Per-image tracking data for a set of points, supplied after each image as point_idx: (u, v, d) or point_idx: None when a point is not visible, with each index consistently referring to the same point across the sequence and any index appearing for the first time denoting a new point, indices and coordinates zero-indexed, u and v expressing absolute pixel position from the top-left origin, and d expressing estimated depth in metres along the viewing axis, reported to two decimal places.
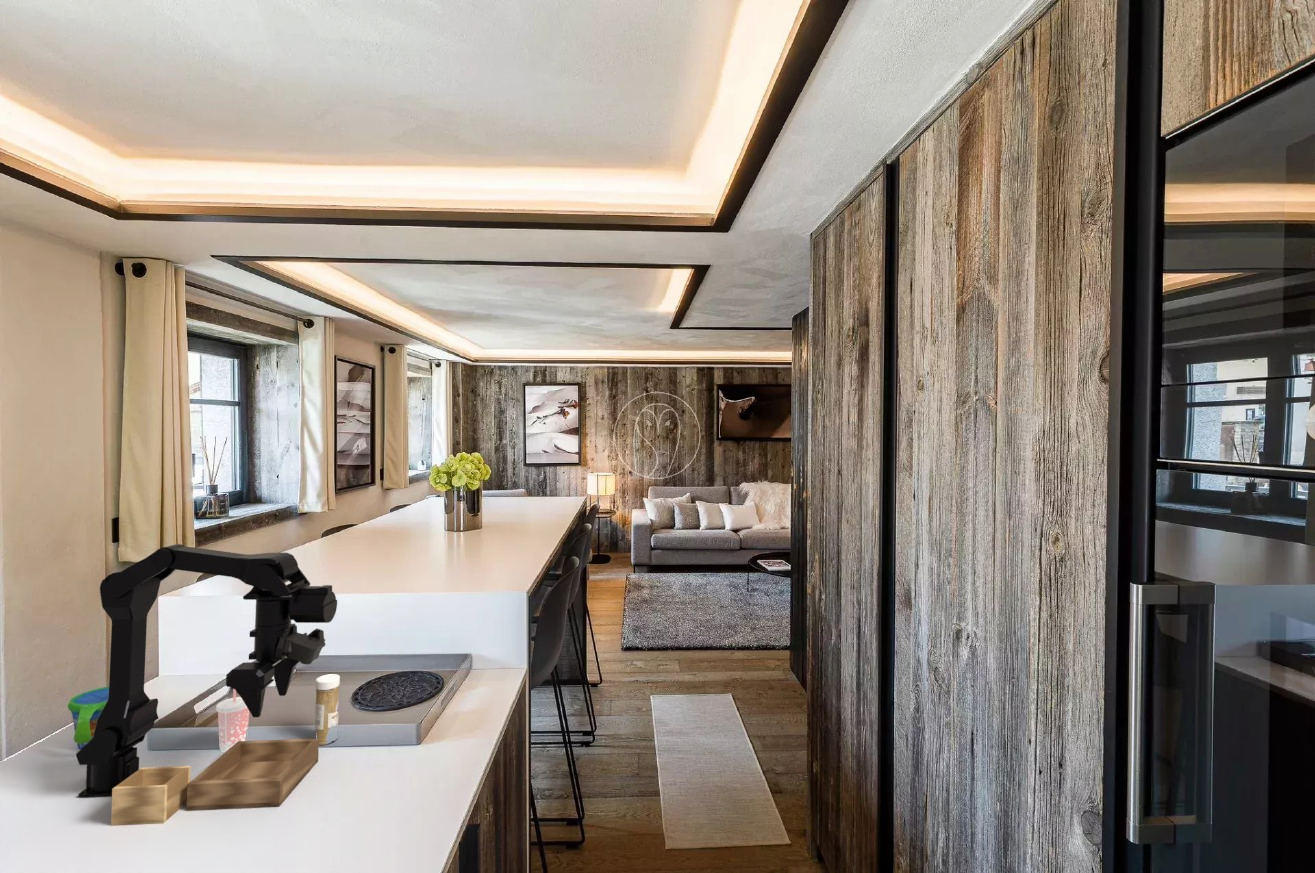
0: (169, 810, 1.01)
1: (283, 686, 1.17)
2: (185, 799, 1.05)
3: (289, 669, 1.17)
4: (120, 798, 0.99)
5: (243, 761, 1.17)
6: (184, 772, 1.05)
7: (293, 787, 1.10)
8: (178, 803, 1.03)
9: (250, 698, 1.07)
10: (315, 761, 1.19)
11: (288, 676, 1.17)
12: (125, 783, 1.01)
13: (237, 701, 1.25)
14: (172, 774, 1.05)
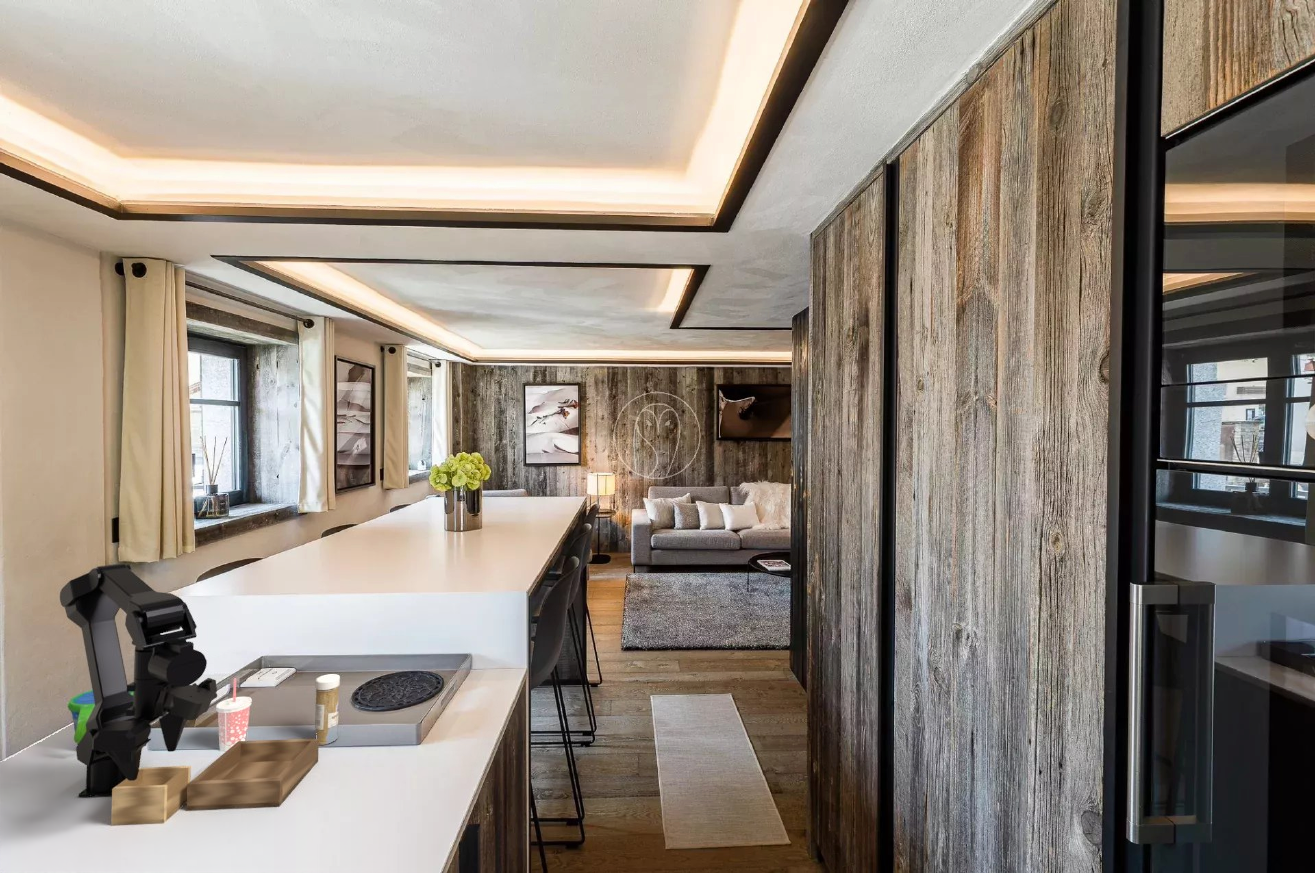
0: (169, 810, 1.01)
1: (172, 741, 1.07)
2: (185, 799, 1.05)
3: (179, 722, 1.08)
4: (120, 798, 0.99)
5: (243, 761, 1.17)
6: (184, 772, 1.05)
7: (293, 787, 1.10)
8: (178, 803, 1.03)
9: (124, 760, 0.97)
10: (315, 761, 1.19)
11: (178, 730, 1.08)
12: (125, 783, 1.01)
13: (237, 701, 1.25)
14: (172, 774, 1.05)
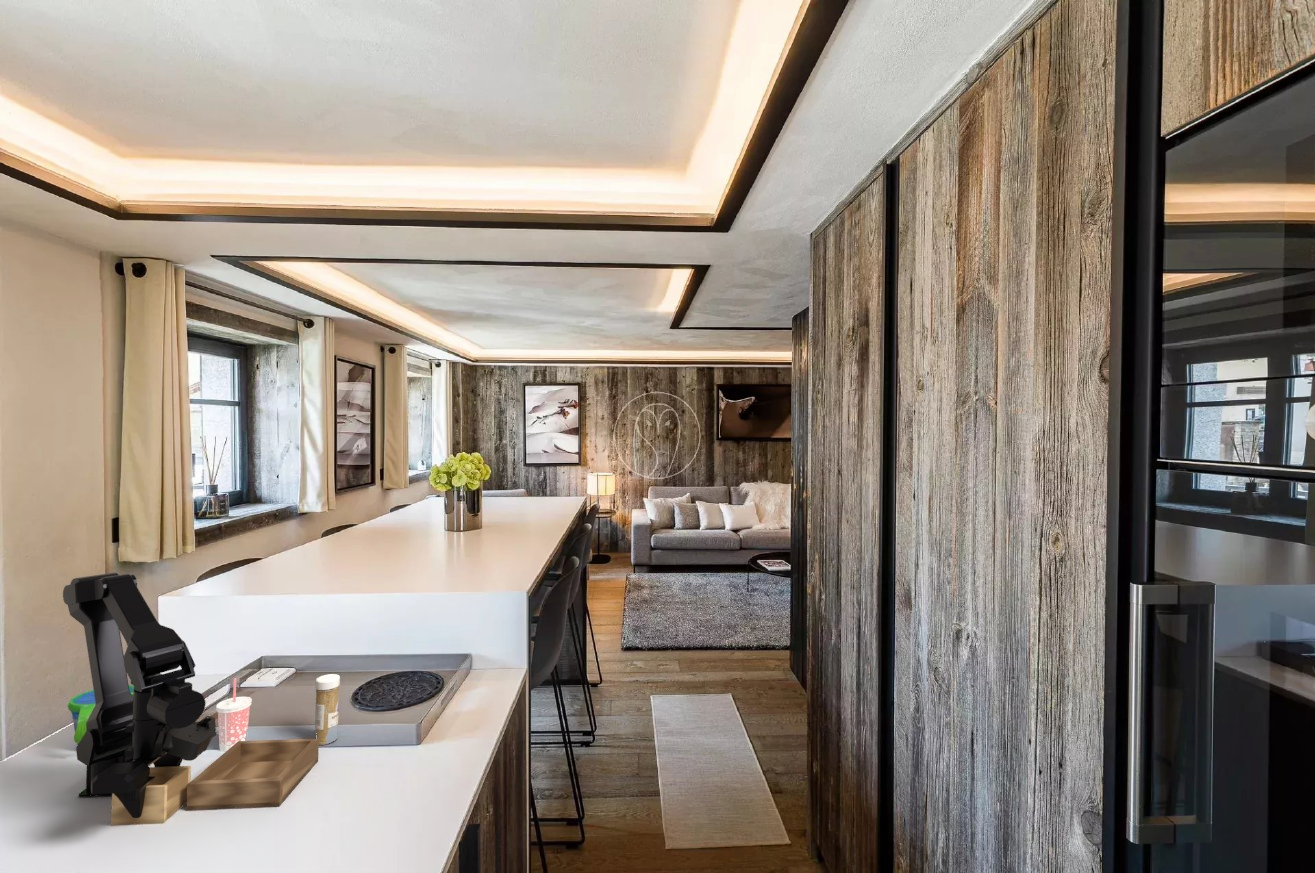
0: (169, 810, 1.01)
1: None
2: (185, 799, 1.05)
3: (174, 763, 1.07)
4: None
5: (243, 761, 1.17)
6: (184, 772, 1.05)
7: (293, 787, 1.10)
8: (178, 803, 1.03)
9: (128, 798, 0.98)
10: (315, 761, 1.19)
11: None
12: None
13: (237, 701, 1.25)
14: (172, 774, 1.05)
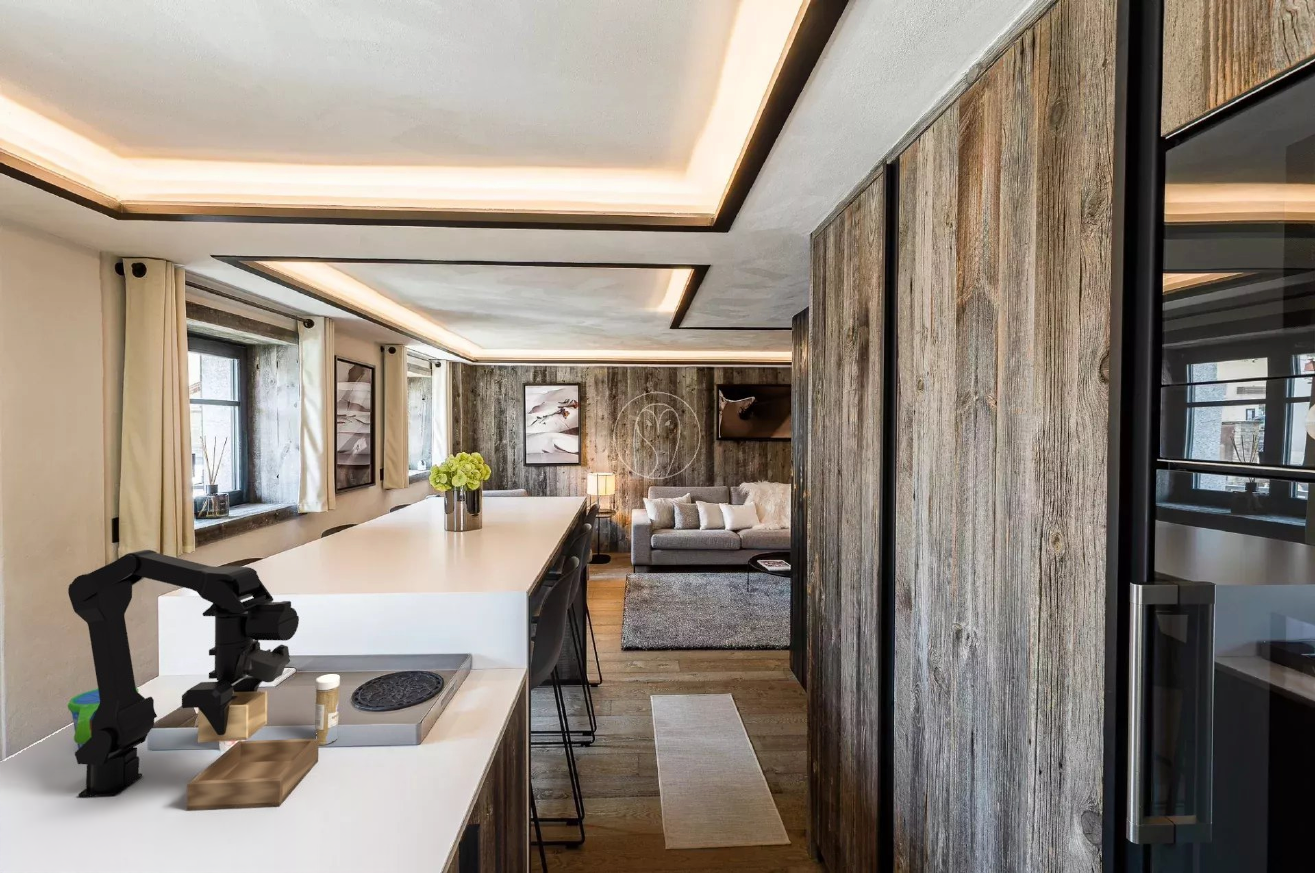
0: (250, 729, 1.07)
1: None
2: (263, 722, 1.11)
3: (251, 689, 1.13)
4: None
5: (243, 761, 1.17)
6: (262, 696, 1.11)
7: (293, 787, 1.10)
8: (257, 724, 1.09)
9: (214, 715, 1.04)
10: (315, 761, 1.19)
11: None
12: None
13: None
14: (250, 698, 1.12)
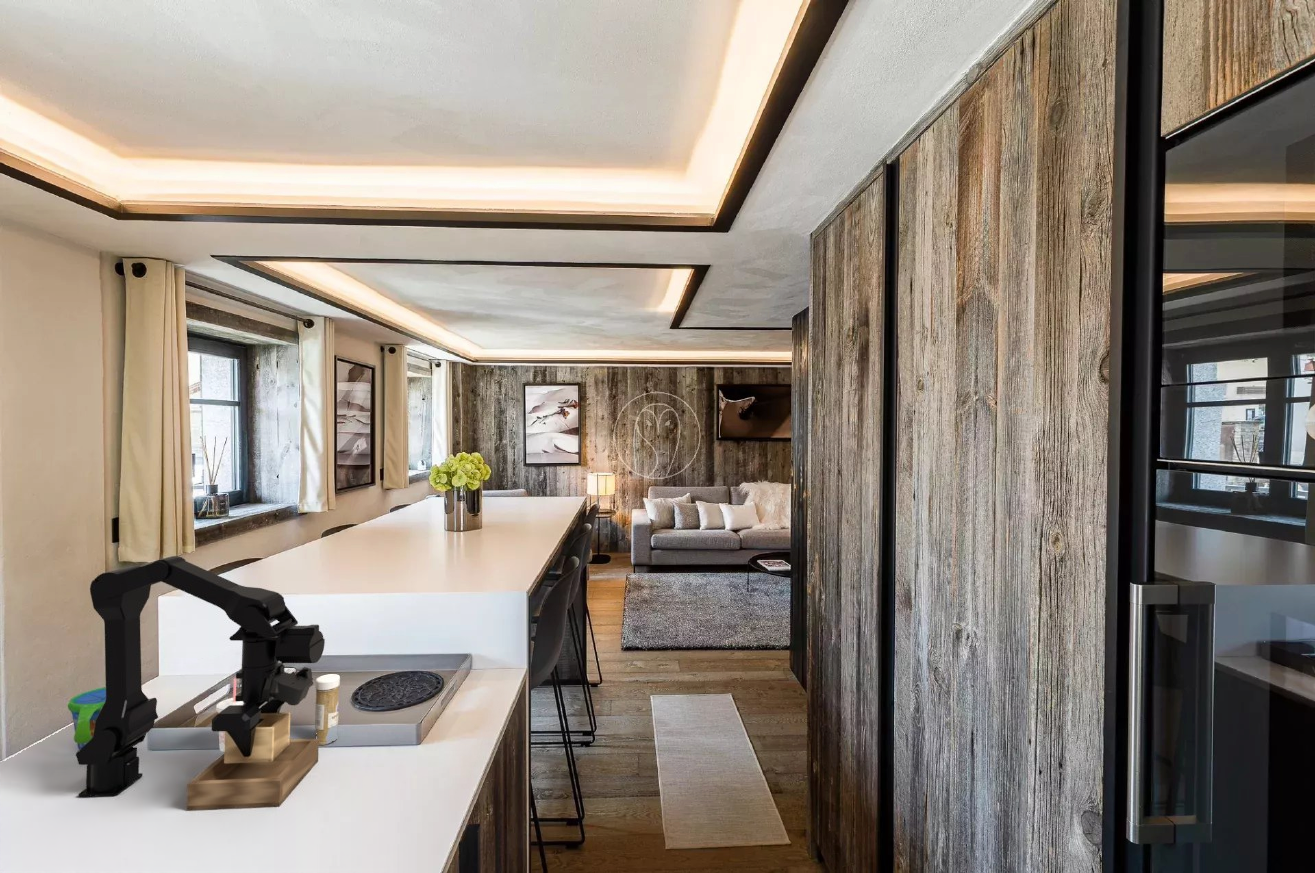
0: (275, 750, 1.10)
1: None
2: (286, 742, 1.14)
3: (274, 710, 1.16)
4: None
5: None
6: (286, 717, 1.14)
7: (293, 787, 1.10)
8: (281, 745, 1.12)
9: (240, 738, 1.07)
10: (315, 761, 1.19)
11: None
12: None
13: (237, 701, 1.25)
14: (274, 719, 1.14)
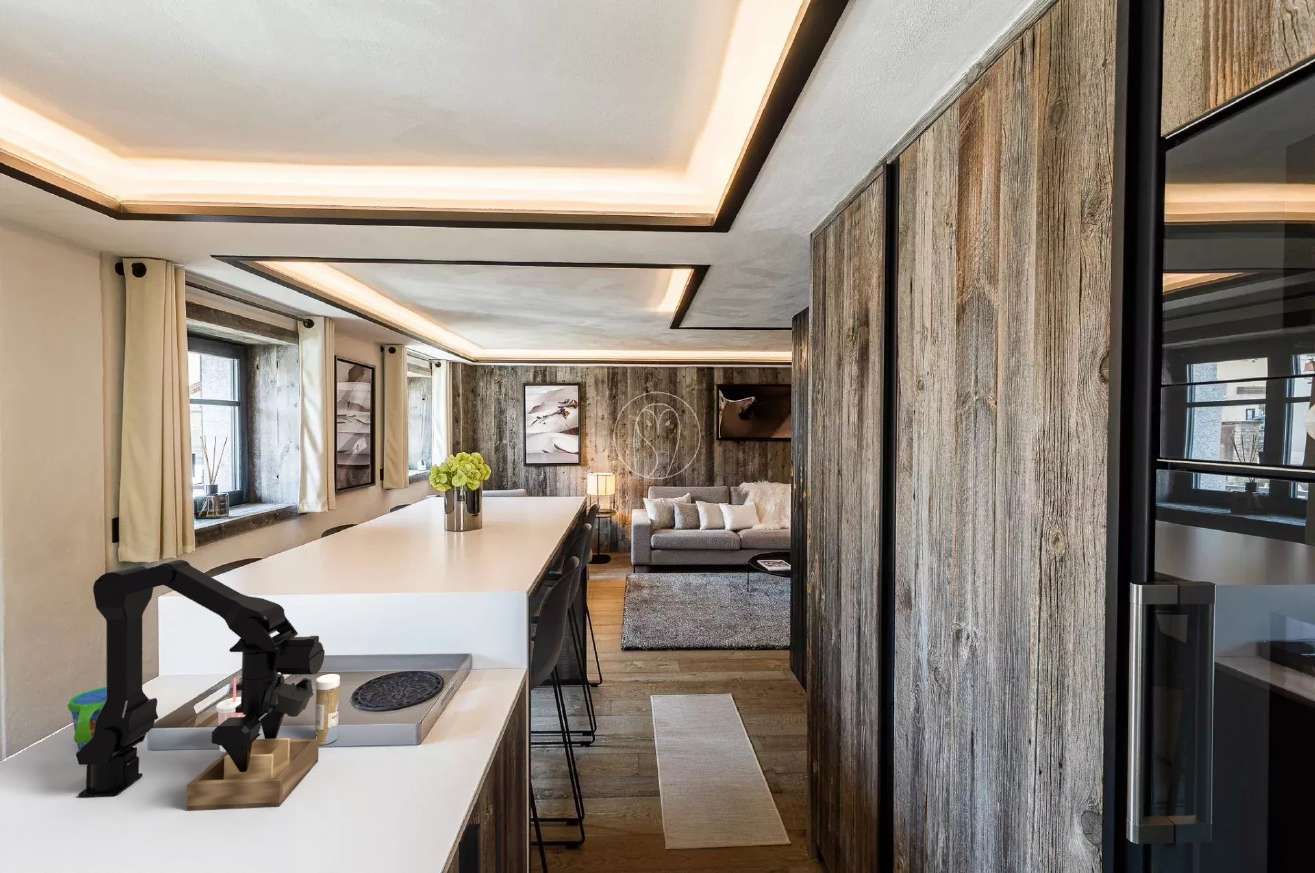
0: (274, 777, 1.10)
1: (271, 737, 1.16)
2: None
3: (277, 719, 1.17)
4: (231, 766, 1.08)
5: None
6: (285, 743, 1.14)
7: (293, 787, 1.10)
8: (281, 772, 1.12)
9: (237, 753, 1.06)
10: (315, 761, 1.19)
11: (276, 726, 1.16)
12: None
13: (237, 701, 1.25)
14: (273, 745, 1.14)
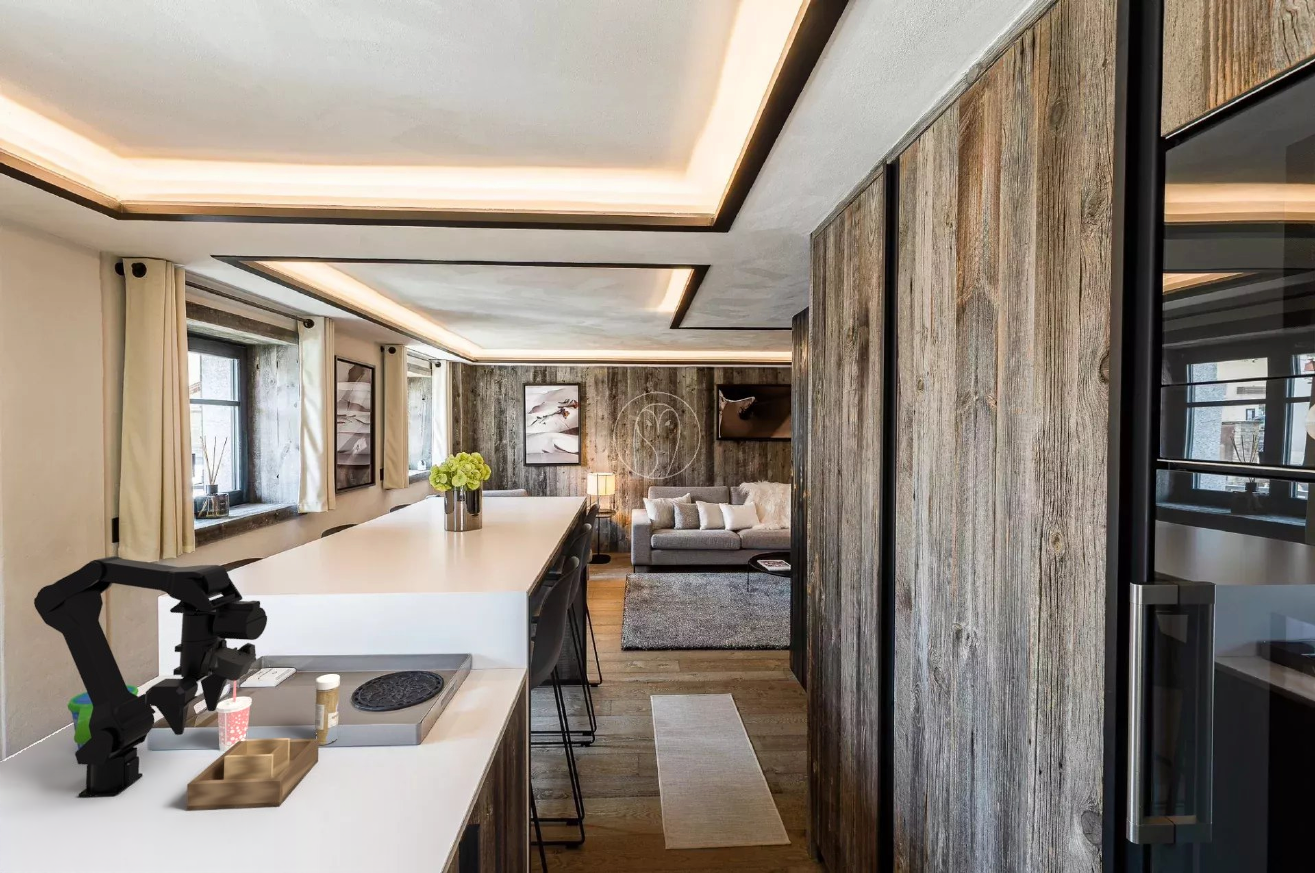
0: (274, 777, 1.10)
1: (212, 702, 1.14)
2: None
3: (219, 684, 1.15)
4: (231, 766, 1.08)
5: None
6: (285, 743, 1.14)
7: (293, 787, 1.10)
8: (281, 772, 1.12)
9: (172, 715, 1.04)
10: (315, 761, 1.19)
11: (218, 691, 1.14)
12: (234, 752, 1.10)
13: (237, 701, 1.25)
14: (273, 745, 1.14)
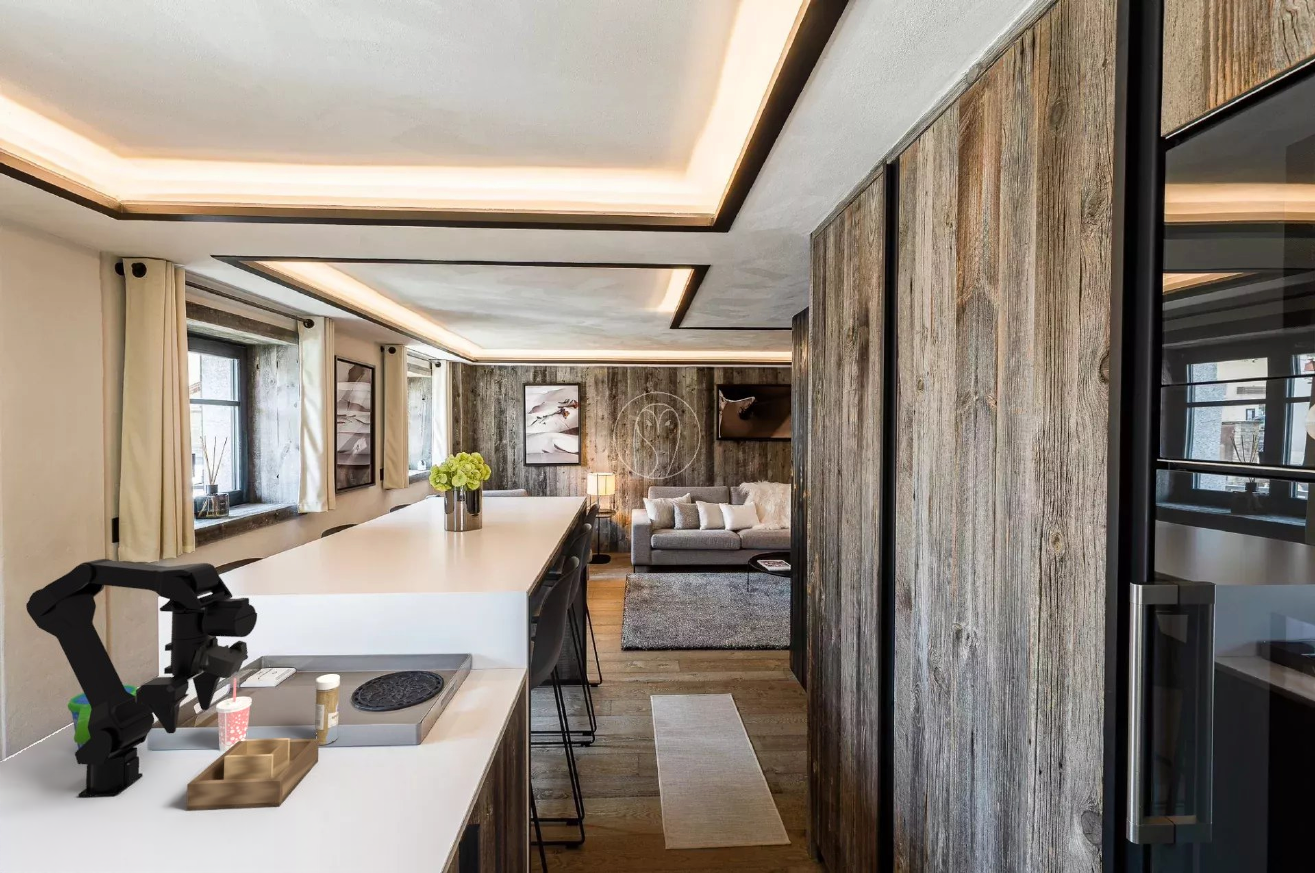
0: (274, 777, 1.10)
1: (205, 700, 1.14)
2: None
3: (212, 682, 1.15)
4: (231, 766, 1.08)
5: None
6: (285, 743, 1.14)
7: (293, 787, 1.10)
8: (281, 772, 1.12)
9: (164, 713, 1.04)
10: (315, 761, 1.19)
11: (211, 690, 1.14)
12: (234, 752, 1.10)
13: (237, 701, 1.25)
14: (273, 745, 1.14)
